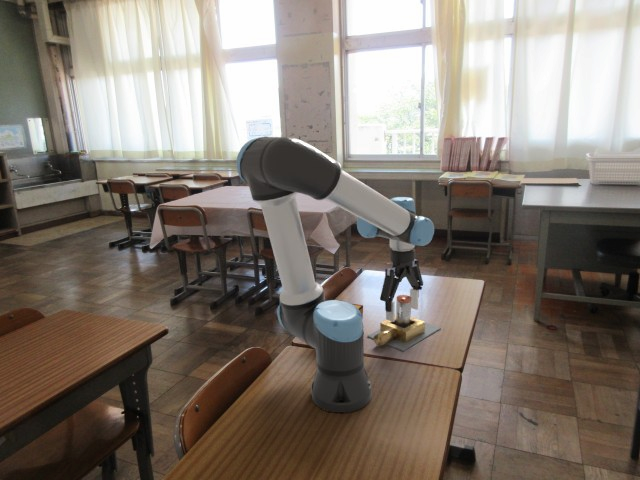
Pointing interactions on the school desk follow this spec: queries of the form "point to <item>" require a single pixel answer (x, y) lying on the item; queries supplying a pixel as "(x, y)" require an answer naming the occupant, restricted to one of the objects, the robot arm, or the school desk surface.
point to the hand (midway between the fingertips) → (402, 314)
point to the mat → (403, 346)
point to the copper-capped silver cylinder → (403, 311)
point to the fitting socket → (399, 331)
